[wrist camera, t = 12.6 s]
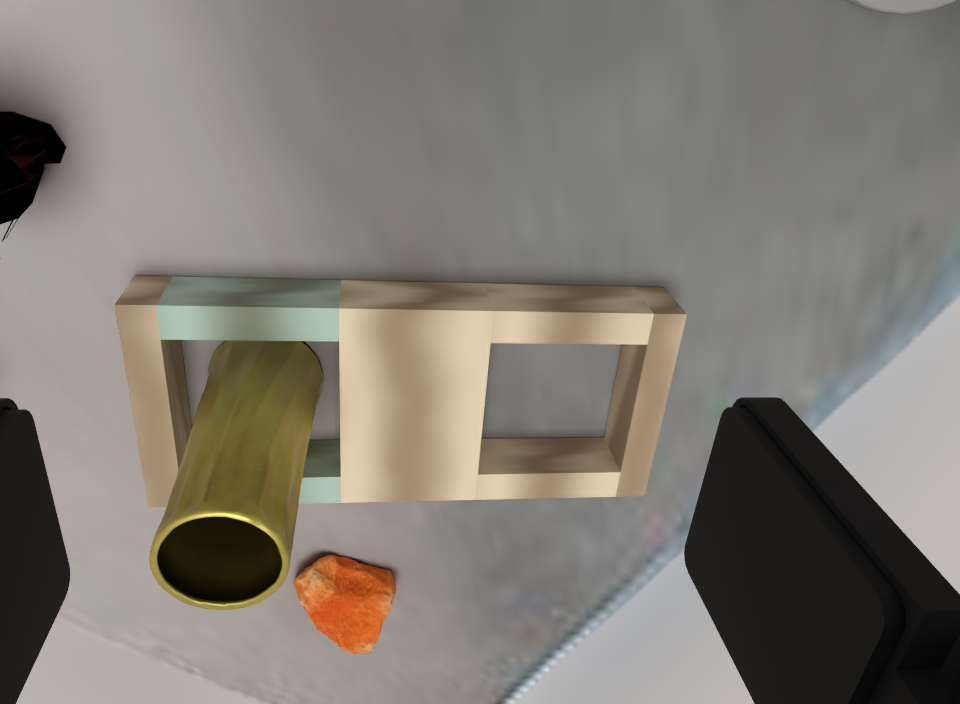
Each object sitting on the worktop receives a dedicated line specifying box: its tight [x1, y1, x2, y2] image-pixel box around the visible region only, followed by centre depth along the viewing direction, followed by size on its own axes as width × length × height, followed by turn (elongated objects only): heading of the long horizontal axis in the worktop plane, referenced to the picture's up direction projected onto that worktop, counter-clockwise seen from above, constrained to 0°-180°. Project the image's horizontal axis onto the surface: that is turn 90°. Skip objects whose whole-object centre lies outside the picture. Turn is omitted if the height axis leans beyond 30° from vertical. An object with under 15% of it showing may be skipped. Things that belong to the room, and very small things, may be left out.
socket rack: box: [115, 275, 687, 507], centre depth 41 cm, size 28×12×4 cm, turn 85°
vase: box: [150, 340, 323, 610], centre depth 35 cm, size 6×6×14 cm
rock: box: [294, 555, 396, 653], centre depth 48 cm, size 12×12×4 cm
